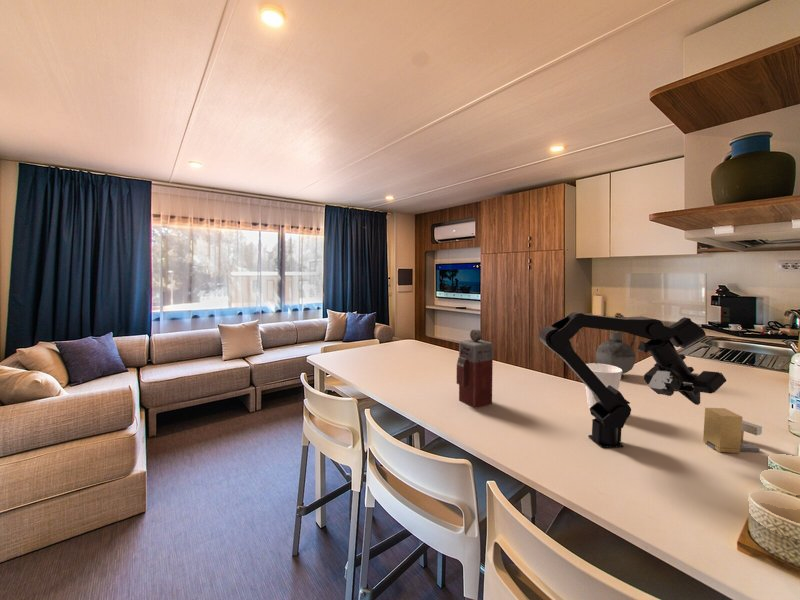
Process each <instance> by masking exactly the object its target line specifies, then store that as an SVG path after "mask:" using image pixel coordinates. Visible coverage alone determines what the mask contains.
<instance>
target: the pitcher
mask: <svg viewBox="0 0 800 600" xmlns="http://www.w3.org/2000/svg"><path fill="white" fill-rule="evenodd" d="M613 317H616V318H627V317H626V316H624V314H622V313H619V312H616V313H614V314H613ZM623 333H624V332H620V331H612V330H609V340H606V341H603V342H602V343H600V345H598V347H597V348H596V349H597V350H596V352H595V361H596V363H598V364H607V365H612V366H616V367H618V368H620V369H622V371H623V372H622V375H621V379H623V378H625V375H624V374H627V373H629V372H630V371H631V370H632V369H633V368H634V366H635V363H636V354H635V351H634V350H635V349H634V348H633V345H634V344H635V341H636V339H637V336H636V335H633V334H632V339H631V343H630V344H628V343H626V342H624V341H623Z"/></svg>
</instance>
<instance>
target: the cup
mask: <svg viewBox="0 0 800 600" xmlns="http://www.w3.org/2000/svg"><path fill="white" fill-rule="evenodd" d="M585 364H586V365H587V366H588V367H589V368H590V369H591V371H592V372H593V373H594V374H595V375H596V376H597V377H598V378H599V380H600V381H601V382H602V383H603V384H604V385H605V386H606V387H608V386H609V385H610V386H612V387H613V388H615V389H616V390H618V391H619V390H620V389H619V387H620V383H621V379H622V378H621V375H622V372H623V371H622V369H620V368H618V367H616V366H612V365H607V364H598V363H597V362H596V363H595V362H592V363H585ZM584 387H585V392H586V393H585V394H586V402H587V406H588V411H589V412H590V410H589V409H590V408H591V407H592V406H593V405H594V404H595V403H597V402H596V400H595V399H594V396H593V394H592V392H591V391H590V389H589V388H588V387H587V386H586V385H585V384H584Z"/></svg>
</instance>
